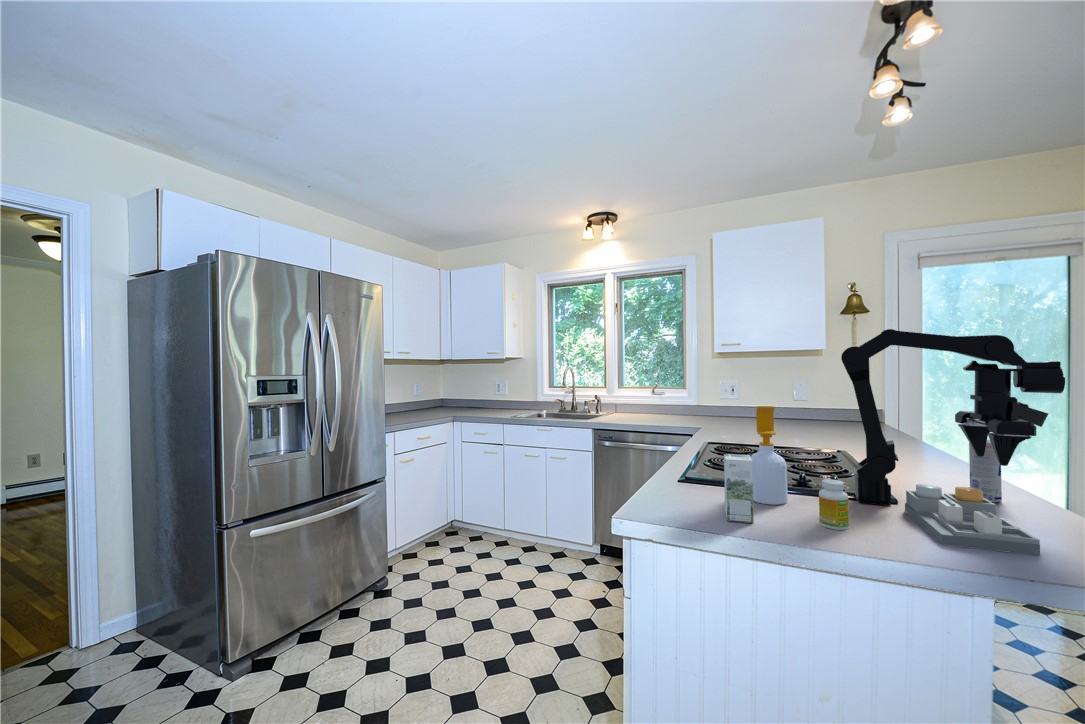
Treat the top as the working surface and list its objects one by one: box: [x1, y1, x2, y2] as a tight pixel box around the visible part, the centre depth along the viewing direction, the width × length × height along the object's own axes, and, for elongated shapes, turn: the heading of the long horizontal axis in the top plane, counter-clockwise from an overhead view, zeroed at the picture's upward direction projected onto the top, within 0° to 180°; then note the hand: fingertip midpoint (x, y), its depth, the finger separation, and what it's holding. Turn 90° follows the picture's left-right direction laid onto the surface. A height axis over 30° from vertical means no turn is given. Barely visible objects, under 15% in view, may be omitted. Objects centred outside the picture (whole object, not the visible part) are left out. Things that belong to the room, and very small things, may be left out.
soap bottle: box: [750, 405, 789, 506], centre depth 115 cm, size 9×9×25 cm
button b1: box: [915, 483, 943, 500], centre depth 100 cm, size 4×4×3 cm
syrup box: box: [723, 453, 755, 524], centre depth 103 cm, size 6×6×14 cm
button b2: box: [954, 486, 983, 503], centre depth 97 cm, size 4×4×3 cm
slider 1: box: [939, 499, 963, 522], centre depth 92 cm, size 2×4×4 cm, turn 157°
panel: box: [904, 489, 1041, 556], centre depth 92 cm, size 14×20×5 cm
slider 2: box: [974, 510, 1002, 535], centre depth 86 cm, size 2×4×4 cm, turn 157°
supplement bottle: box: [818, 478, 850, 531], centre depth 97 cm, size 5×5×10 cm
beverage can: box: [968, 439, 1003, 504], centre depth 111 cm, size 6×6×15 cm
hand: (991, 460), depth 99 cm, fingers open, 9 cm apart
